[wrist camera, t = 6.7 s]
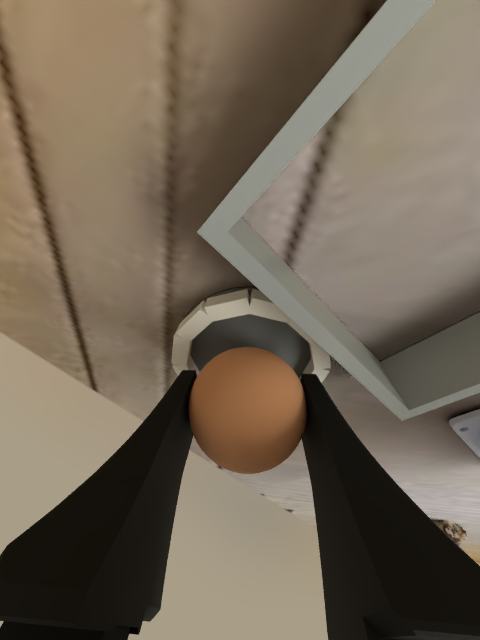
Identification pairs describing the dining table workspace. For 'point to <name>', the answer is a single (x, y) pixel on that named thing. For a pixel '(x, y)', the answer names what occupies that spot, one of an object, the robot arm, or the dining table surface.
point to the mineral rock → (452, 531)
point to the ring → (244, 333)
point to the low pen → (295, 296)
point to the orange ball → (247, 410)
